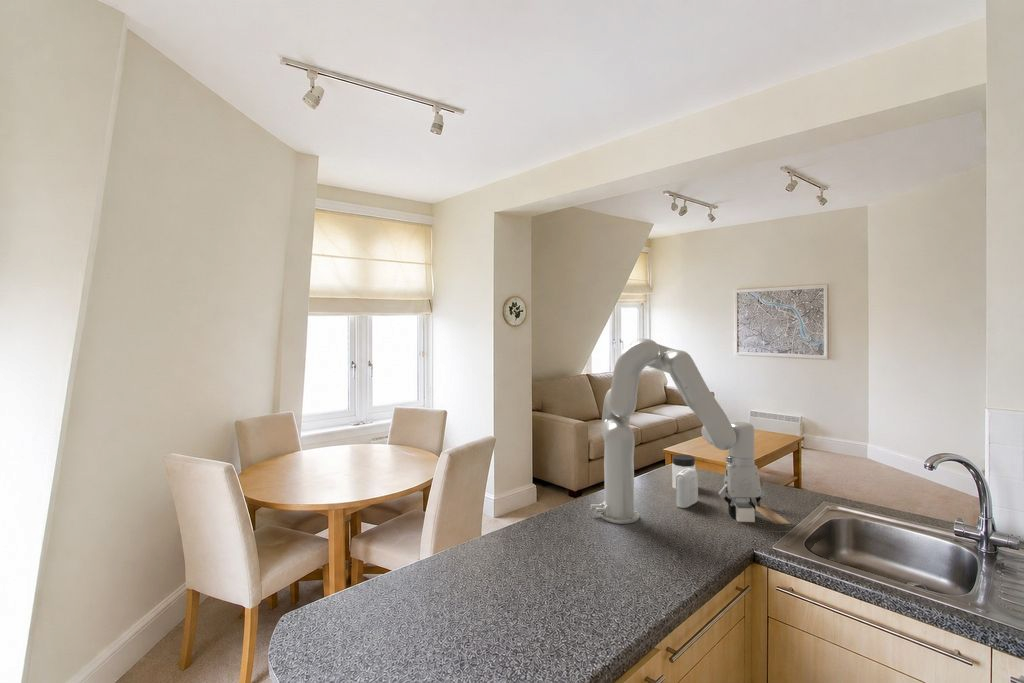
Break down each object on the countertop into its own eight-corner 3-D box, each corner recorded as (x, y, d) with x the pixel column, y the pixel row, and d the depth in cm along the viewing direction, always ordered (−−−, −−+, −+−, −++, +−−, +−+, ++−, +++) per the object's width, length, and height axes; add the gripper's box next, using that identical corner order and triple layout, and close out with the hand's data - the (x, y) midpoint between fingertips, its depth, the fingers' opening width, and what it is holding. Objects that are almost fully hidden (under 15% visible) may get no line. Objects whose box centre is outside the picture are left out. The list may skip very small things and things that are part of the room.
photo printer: (688, 498, 175) (687, 464, 175) (699, 501, 172) (699, 467, 172) (674, 506, 168) (673, 471, 168) (685, 509, 165) (685, 473, 165)
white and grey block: (738, 522, 153) (738, 507, 153) (729, 512, 161) (729, 498, 161) (754, 522, 153) (754, 507, 153) (745, 513, 161) (745, 498, 161)
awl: (756, 507, 165) (756, 477, 164) (752, 504, 167) (752, 475, 167) (764, 507, 165) (763, 477, 164) (760, 504, 167) (759, 474, 167)
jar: (674, 483, 193) (674, 453, 193) (696, 485, 189) (696, 455, 189) (670, 489, 185) (670, 458, 185) (693, 492, 181) (693, 461, 181)
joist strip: (775, 524, 151) (774, 523, 151) (749, 505, 167) (749, 505, 167) (790, 524, 151) (790, 523, 151) (764, 505, 167) (764, 504, 167)
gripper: (720, 464, 153) (720, 521, 153) (774, 463, 153) (774, 520, 153) (710, 458, 160) (710, 512, 161) (761, 457, 160) (762, 511, 161)
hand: (741, 515), depth 157 cm, fingers closed on white and grey block, 5 cm apart
